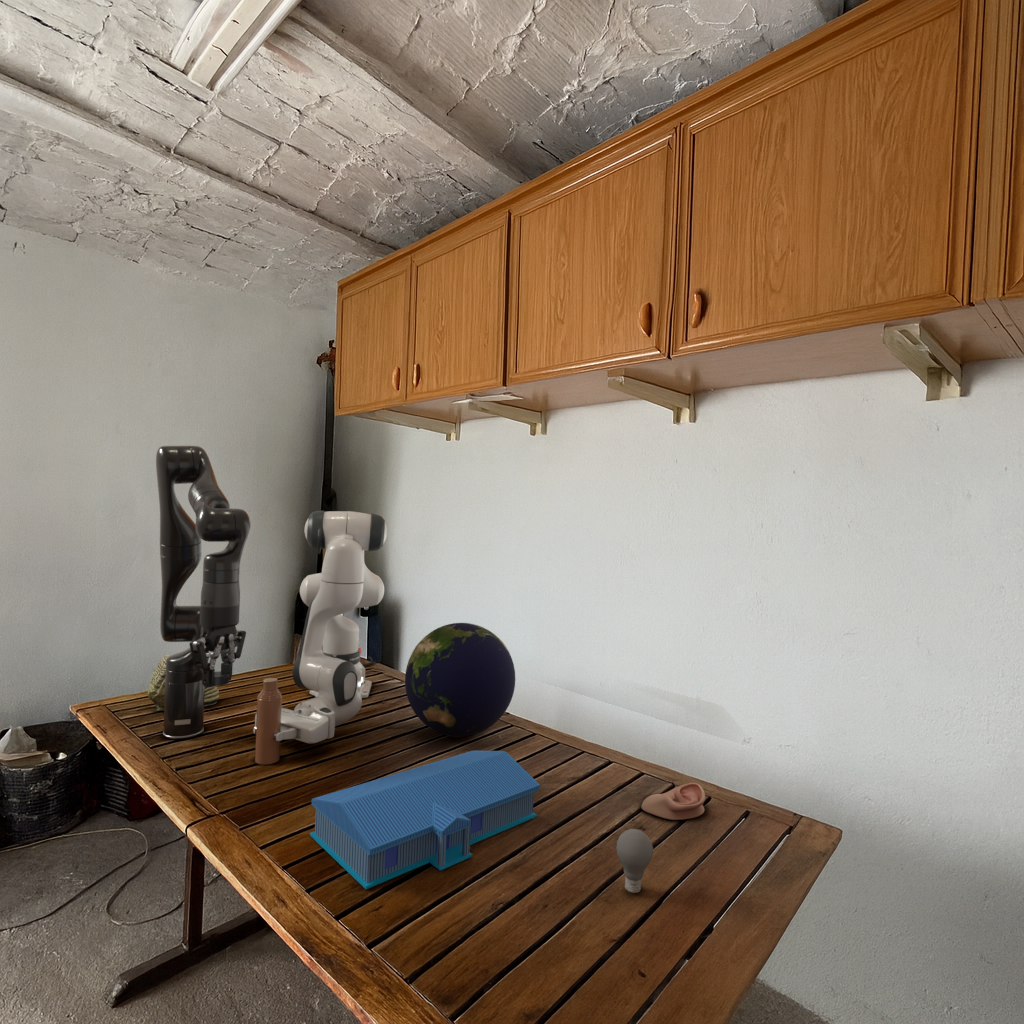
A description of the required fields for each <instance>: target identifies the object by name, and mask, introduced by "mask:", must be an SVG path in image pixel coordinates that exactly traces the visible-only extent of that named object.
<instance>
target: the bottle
mask: <svg viewBox="0 0 1024 1024" xmlns="http://www.w3.org/2000/svg"><path fill="white" fill-rule="evenodd" d="M278 682H279V680H278V678H276V677H268V678H267V677H266V678H263V680H262V689H261V691H260V692H259V693H258V695H257V698H256V713H257V718H256V734H255V748H254V762H255V764H257V765H264V766H265V765H266V766H267V765H271V764H275V763H277V762H279V761H280V759H281V757H280V756H281V741H276V740H273V737H274V736H273V734H274V733H275V732H278V731H281V709H282V708H283V707H282V706H283V695H282V693H281V691H280V690H279V688H278Z"/></svg>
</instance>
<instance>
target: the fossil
mask: <svg viewBox="0 0 1024 1024" xmlns="http://www.w3.org/2000/svg"><path fill="white" fill-rule="evenodd" d="M171 655H172V654H165V655H164V656H163V657H162V658H161V659H160V660H159V662H158V663H157V666H156V667H155V669H154V670H153V672H152V675H151V677H150V680H149V684H148V688H147V697H148V699H149V700H150V701H152V703H153V704H154V706H155V711H158V712H159V711H162V712H163V711H164V705H165V674H166V660H167V658H168V657H169V656H171ZM218 687H219V686H213V687H205V693H204V707H207V706H213V705H215V704H217V703H218V701H219V699H220V698H221V696H220V690H219V688H218Z"/></svg>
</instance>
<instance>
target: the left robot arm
mask: <svg viewBox="0 0 1024 1024" xmlns="http://www.w3.org/2000/svg"><path fill="white" fill-rule="evenodd" d="M155 470H156V480H157V481H156V482H157V491H158V503H159V557H160V558H159V559H160V560H159V561H160V575H161V599H160V600H161V601H160V617H159V620H160V621H159V622H160V623H159V631H160V635H161V638H162V641H164V642H167V643H189V648H187V649H185V650H182V651H180V652H176V653H174V654H170V655H171V656H169V657H168V658H167V660H166V674H165V705H164V710H163V731H162V737H164V738H166V739H169V740H185V739H190V738H191V739H192V738H194V737H197V736H199V735H202V734H203V732H204V730H205V729H204V722H205V721H204V718H205V706H204V693H205V687H213V686H214V676H215V672H216V669H215V668H216V663H217V659H219V657H220V659H221V663H220V671H222V672H228V673H229V682H230V681H231V680H232V676H233V665H234V663H235V661H236V659H237V660H238V659H241V656H242V652H243V648H244V645H245V640H246V636H247V631H246V630H240V629H237V627H236V626H237V625H239V623H240V607H241V606H240V605H241V604H240V603H241V588H240V570H241V560H242V556H243V553H244V549H245V546H246V542H247V540H248V537H249V535H250V531H251V518H250V516H249V514H248V513H247V511H245V510H244V509H243V508H242V509H241V508H231V505H230V502H229V500H228V498H227V496H226V495H225V494H224V492H223V491H222V490H221V488H220V487H219V484H218V482H217V479H216V475H215V472H214V469H213V466H212V463H211V460H210V457H209V455H208V454H207V452H206V450H205V449H204V448H203V447H202V446H199V445H162V446H160V447H158V449H157V451H156V454H155ZM183 484H185V485H186V484H191V486H190V487H189V489H188V493H187V498H188V503H189V505H190V507H191V508H192V510H193V512H194V514H195V522H194V520H193V519H192V517H190V516H189V514H188V513H187V512H186V510H185V508H183V506H182V505H181V503H180V501H179V500H178V497H177V495H176V490H175V485H183ZM202 541H204V542H208V543H209V542H210V543H211V542H212V543H221V542H222V543H224V542H225V543H227V544H226V546H225V548H224V549H223V550H221V551H217V552H212V553H209V554H206V555H205V556H204V558H203V564H202V566H203V567H202V586H201V591H200V605H177V599H178V596H179V595H180V592H181V590H182V589H183V586H185V584H186V582H187V581H188V580H189V579H190V577H191V576H192V574H193V573H194V572H195V571H196V569H197V568H198V566H199V565H200V563H201V560H202Z"/></svg>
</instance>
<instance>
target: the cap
mask: <svg viewBox="0 0 1024 1024" xmlns="http://www.w3.org/2000/svg"><path fill="white" fill-rule="evenodd" d="M229 683H230V681H229V673H228V672H222V671H221V670H220V671H215V676H214V686H216V687H221V686H226V685H227V684H228V685H229Z"/></svg>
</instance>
